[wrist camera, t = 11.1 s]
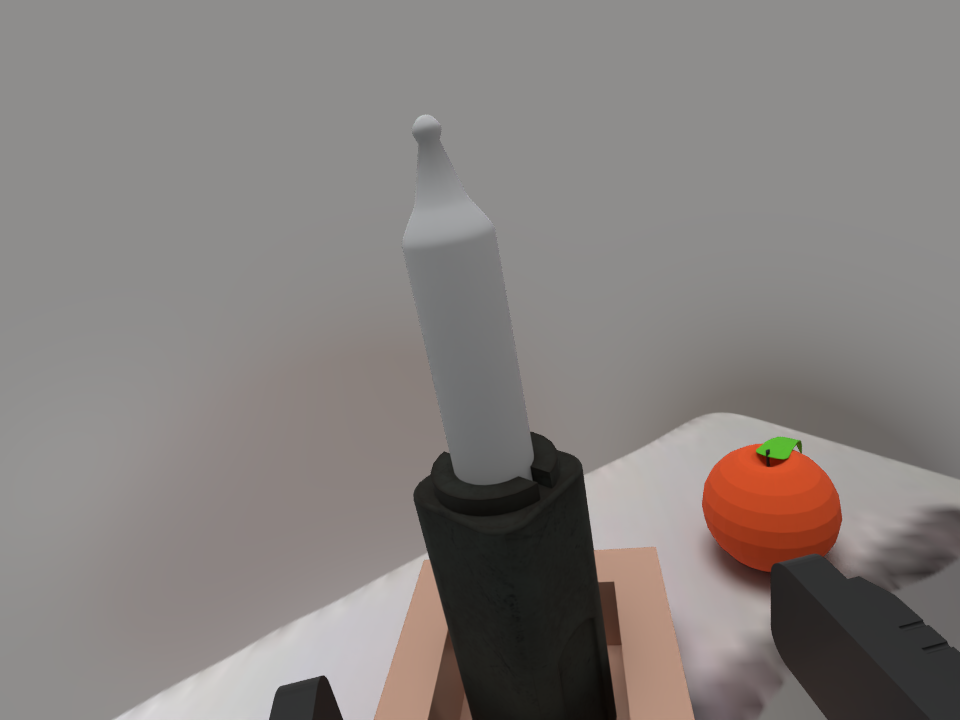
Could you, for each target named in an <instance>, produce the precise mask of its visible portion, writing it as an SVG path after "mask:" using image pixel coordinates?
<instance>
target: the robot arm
mask: <svg viewBox="0 0 960 720" xmlns="http://www.w3.org/2000/svg"><path fill="white" fill-rule="evenodd" d="M771 631H772V635H773V639H774V642H775V645H776V647H777V650H778V652H779V654H780V656H781V658H782V659H783V661H784V663H785V664H786V666H787V667H788V668H789V670H790V671H791V672H792V674H793V675H794V676H795V677H796V679H797V680H798V681H799V683H800V684H801V685H802V687H803V688H804V689H805V690H806V692H807V693H808V694H809V696H810V697H811V698H812V700H813V701H814V702H815V704H816V705H817V706H818V708H819V709H820V710H821V712H822V713H823V714H824V715H825V717H826V718H827V719H828V720H960V652H959V651H958V650H957V649H955V648H954V647H952V648H951V647H950V646H949V645H948V643H947V641H946V640H945V639H944V638H943V637H942V636H941V635H939V634H938V633H937V632H936V631H935V630H934V629H933V628H932V627H930V626H929V625H927V626H926V625H925V624H924V622H923V620H922V619H921V618H920V617H919V616H918V615H917V614H915V612H913V611H912V610H911V609H910V608H909V607H908V606H907V605H905V604H904V603H903V602H902V601H901V600H900V599H899V598H897V597H896V596H895V595H894V594H892V593H890V592H888V591H886V590H884V589H882V588H880V587H879V586H877V585H875V584H873V583H871V582H869V581H867V580H865V579H863V578H861V577H855V578H851V579H847V578H846V577H845V576H844V575H843V574H842V573H840V572H839V571H838V570H837V569H836V568H835V567H834V566H833V565H832V564H831V563H830V562H829V561H828V560H826V559H825V558H824V557H823V556H821V555H819V554H810V555H806V556H802V557H798V558H794V559H790V560H786V561H783V562H779V563H775V564H773V566H772V568H771ZM269 720H343V718H342V715H341V713H340V710H339V707H338V705H337V702H336V699H335V697H334V694H333V692H332V689H331V686H330V684H329V681H328V679H327V678H326V677H325V676H319V677H315V678H311V679H307V680H303V681H300V682H296V683H292V684H288V685H284V686H280V687H279V688H278V689H277V691H276V694H275V697H274V701H273V705H272V709H271V714H270V718H269Z"/></svg>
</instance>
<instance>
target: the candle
mask: <svg viewBox="0 0 960 720" xmlns="http://www.w3.org/2000/svg"><path fill="white" fill-rule="evenodd" d="M412 134H413V136H414V138H415V139H416V141H417V142H418V144H419V147H418V162H417V163H418V164H417V178H416V192H415V193H416V194H415V206H414V209H413V212H412V215H411V217H410V220H409V222H408V225H407V228H406V231H405V234H404V238H403V240H402V249H403V253H404V257H405V261H406V265H407V270H408V274H409V278H410V283H411V287H412V292H413V296H414V300H415V305H416V309H417V313H418V318H419V322H420V326H421V331H422V335H423V339H424V344H425V348H426V352H427V357H428V361H429V365H430V369H431V374H432V378H433V382H434V387H435V391H436V395H437V400H438V404H439V408H440V413H441V417H442V421H443V425H444V430H445V434H446V438H447V443H448V447H449V452H450V453H447V452H443V453H442V454H441V455H440V456H439V457H438V458H437V460H436V461H435V462H434V464H433V467H432V471H431V474H430V475H429V476H428V477H426V478H425V479H424V480H422V481H421V482H420V483H419V484H418V486H417V487H416V489H415V491H414V502H415V506H416V510H417V513H418V517H419V521H420V525H421V529H422V533H423V536H424V540H425V543H426V548H427V551H428V555H429V559H430V563H431V566H432V570H433V574H434V578H435V581H436V585H437V589H438V593H439V596H440V600H441V604H442V608H443V611H444V615H445V619H446V623H447V626H448V630H449V634H450V638H451V642H452V645H453V649H454V653H455V657H456V660H457V664H458V668H459V672H460V675H461V679H462V683H463V687H464V690H465V694H466V698H467V702H468V705H469V709H470V713H471V717H472V720H616V718H617V714H616V706H615V699H614V692H613V685H612V678H611V670H610V663H609V656H608V649H607V642H606V634H605V627H604V620H603V613H602V606H601V598H600V591H599V584H598V577H597V570H596V562H595V555H594V548H593V541H592V533H591V526H590V519H589V512H588V505H587V497H586V490H585V483H584V476H583V469H582V464H581V462H580V461H579V460H578V459H577V458H576V457H575V456H573V455H571V454H568V453H565V452H561V451H558V450H556V448H555V446H554V445H553V443H552V442H551V441H550V440H548V439H547V438H545V437H544V436H542V435H539V434H536V433H534V432H530V429H529V424H528V418H527V412H526V406H525V400H524V395H523V389H522V383H521V377H520V371H519V365H518V359H517V354H516V348H515V342H514V336H513V331H512V325H511V319H510V313H509V307H508V301H507V296H506V290H505V284H504V278H503V272H502V266H501V261H500V255H499V250H498V243H497V237H496V232H495V228H494V226H493V224H492V222H491V221H490V220H489V219H488V217H487V216H486V215H485V214H484V213H483V212H482V211H481V210H480V209H479V208H478V206H477V205H476V204H475V203H474V202H473V201H472V200H471V199H470V198H469V197H468V196H467V194H466V192H465V190H464V188H463V186H462V184H461V182H460V180H459V178H458V176H457V174H456V172H455V170H454V168H453V166H452V164H451V162H450V160H449V158H448V156H447V154H446V152H445V150H444V148H443V146H442V144H441V142H440V135H441V125H440V124H439V122H438V121H437V120H436V119H435V118H433V117H432V116H430V115H422V116H420V117H418V118H417V120H416V121H415V124H414V125H413V128H412Z"/></svg>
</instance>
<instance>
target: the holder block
mask: <svg viewBox="0 0 960 720" xmlns="http://www.w3.org/2000/svg"><path fill="white" fill-rule="evenodd" d="M594 555H595V562H596V570H597V577H598V584H599V591H600V598H601V606H602V613H603V620H604V627H605V634H606V642H607V649H608V656H609V663H610V670H611V678H612V685H613V692H614V699H615V706H616V714H617V718H616V720H695V719H694V715H693V710H692V706H691V701H690V697H689V692H688V688H687V683H686V679H685V675H684V670H683V666H682V661H681V657H680V652H679V648H678V644H677V639H676V635H675V630H674V626H673V621H672V617H671V612H670V608H669V604H668V599H667V595H666V590H665V586H664V581H663V577H662V573H661V568H660V564H659V559H658V555H657V550H656V547H644V548H627V549H609V550H594ZM374 720H472V717H471V713H470V709H469V705H468V702H467V698H466V694H465V690H464V687H463V683H462V679H461V675H460V672H459V668H458V664H457V660H456V657H455V653H454V649H453V645H452V642H451V638H450V634H449V630H448V626H447V623H446V619H445V615H444V611H443V608H442V604H441V600H440V596H439V593H438V589H437V585H436V581H435V578H434V574H433V570H432V566H431V563H430V560H424V561H423V565H422V568H421V571H420V574H419V577H418V581H417V584H416V587H415V590H414V593H413V596H412V600H411V603H410V606H409V609H408V612H407V616H406V619H405V622H404V625H403V628H402V631H401V635H400V638H399V641H398V644H397V647H396V650H395V654H394V657H393V660H392V663H391V666H390V670H389V673H388V676H387V679H386V682H385V685H384V689H383V692H382V695H381V698H380V701H379V704H378V708H377V711H376V714H375V717H374Z"/></svg>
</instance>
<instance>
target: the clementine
mask: <svg viewBox="0 0 960 720" xmlns="http://www.w3.org/2000/svg"><path fill="white" fill-rule="evenodd" d="M796 445H797V447H798V449H799V451H800V453H799V452H797V451H795V450H793V448H794V447H795V446H796ZM702 507H703V512H704V516H705V520H706V523H707V526H708V528H709V530H710V532H711V533H712V535H713V537H714V538H715V540H716V541H717V542H718V544H719V545H720V546H721V548H723V549H724V550H725V551H726V552H728V553H729V554H730V555H731V556H733V557H734V558H735V559H736V560H738V561H739V562H741V563H743V564H745V565H747V566H749V567H751V568H755V569H758V570H761V571H767V572H771V568H772V566H773V564H775V563H779V562H783V561H786V560H790V559H794V558H798V557H802V556H806V555H810V554H819V555H821V556H823V557H824V556H825V555H826V554H827V553H828V551H829V550H830V549H831V548H832V546H833V545H834V544H835V542H836V539H837V537H838V534H839V530H840V526H841V522H842V514H841V506H840V500H839V495H838V493H837V491H836V489H835V487H834V485H833V483H832V481H831V480H830V478H829V477H828V475H827V474H826V473H825V472H824V471H823V470H822V469H821V468H820V467H819V466H818V465H817V464H816V463H815V462H814V461H813V460H811V459H810V458H809V457H807V456H805V455H803V454H802V443H801V441H800V440H795V439H791V438H786V437H776V438H773V439H770V440H768V441H766V442H765V443H764V444H754V445H749V446H746V447H743V448H740V449H737V450H735V451H732V452H730V453H729V454H727V455H726V456H725V457H723V458H722V459H721V460H720V461H719V462H718V463H717V464H716V465H715V466H714V467H713V469H712V470H711V472H710V474H709V476H708V478H707V480H706V482H705V485H704V492H703V500H702Z"/></svg>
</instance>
